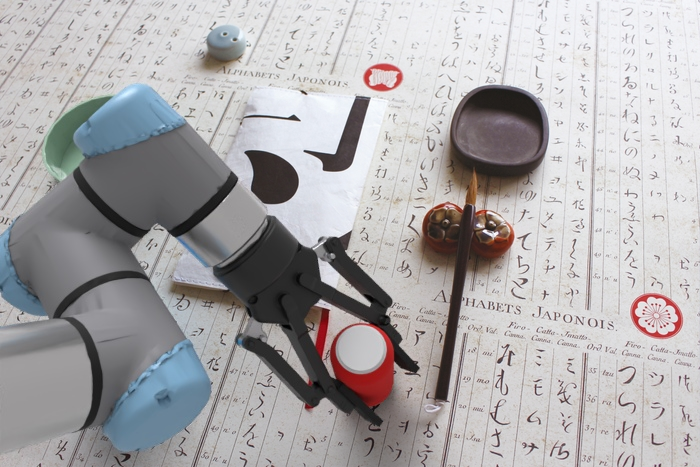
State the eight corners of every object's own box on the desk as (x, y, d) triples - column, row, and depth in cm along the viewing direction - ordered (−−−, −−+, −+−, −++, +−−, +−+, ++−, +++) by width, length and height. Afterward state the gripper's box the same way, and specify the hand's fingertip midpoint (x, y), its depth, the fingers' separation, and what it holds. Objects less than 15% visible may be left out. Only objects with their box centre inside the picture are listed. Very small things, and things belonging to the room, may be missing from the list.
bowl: (111, 226, 75) (94, 206, 71) (38, 171, 80) (18, 150, 76) (192, 147, 81) (181, 125, 76) (119, 102, 86) (105, 78, 82)
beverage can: (354, 345, 65) (347, 306, 54) (403, 370, 63) (405, 335, 52) (328, 392, 62) (315, 361, 52) (378, 419, 60) (375, 393, 50)
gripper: (289, 172, 56) (419, 318, 65) (154, 317, 49) (319, 459, 58) (325, 164, 50) (464, 328, 58) (175, 330, 43) (358, 487, 52)
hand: (392, 393), depth 58 cm, fingers closed on beverage can, 6 cm apart
